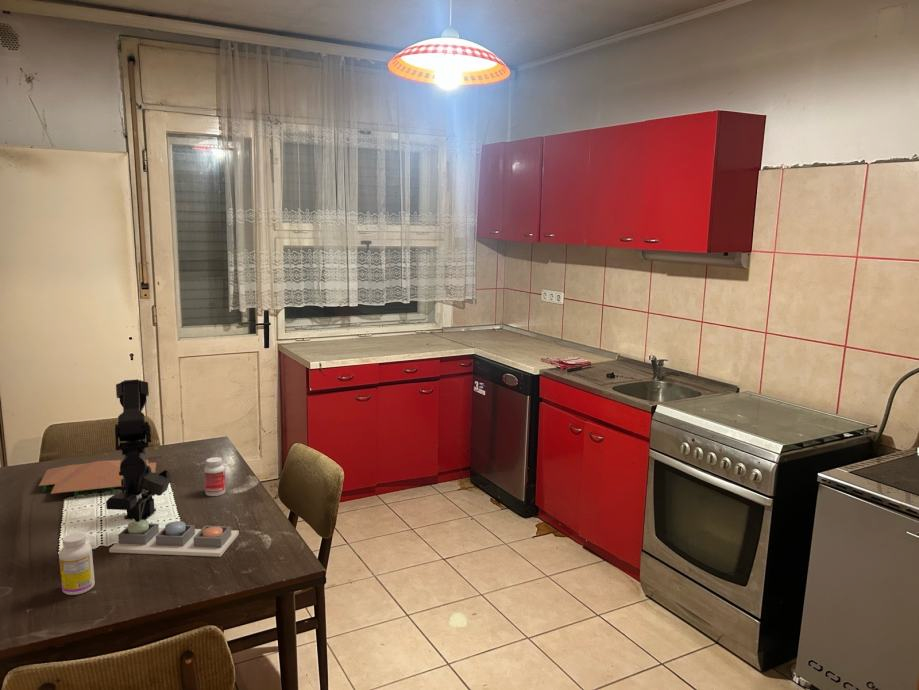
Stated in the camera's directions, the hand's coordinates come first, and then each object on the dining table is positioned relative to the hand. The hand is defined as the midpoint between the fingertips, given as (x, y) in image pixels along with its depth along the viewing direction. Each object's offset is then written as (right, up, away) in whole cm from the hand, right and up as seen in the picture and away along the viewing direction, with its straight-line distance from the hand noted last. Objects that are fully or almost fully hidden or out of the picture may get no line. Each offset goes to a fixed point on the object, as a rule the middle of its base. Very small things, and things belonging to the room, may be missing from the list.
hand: (138, 521), depth 181 cm
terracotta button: (+20, -5, 0) cm, 20 cm away
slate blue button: (+10, -3, 0) cm, 10 cm away
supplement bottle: (-3, -10, -23) cm, 25 cm away
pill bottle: (+8, 0, +34) cm, 35 cm away
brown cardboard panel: (-31, +1, +40) cm, 50 cm away
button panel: (+10, -6, +1) cm, 12 cm away
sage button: (0, -3, 0) cm, 3 cm away
